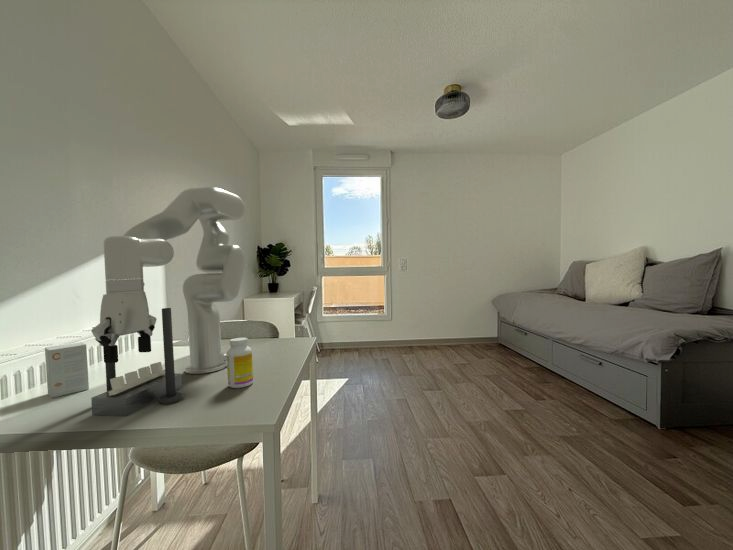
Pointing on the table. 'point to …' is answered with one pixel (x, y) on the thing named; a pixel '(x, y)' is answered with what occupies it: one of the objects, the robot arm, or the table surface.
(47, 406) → the table surface
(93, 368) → the table surface
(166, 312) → the cable upright
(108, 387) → the cable upright
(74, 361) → the small box
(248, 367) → the supplement bottle
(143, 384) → the breaker panel
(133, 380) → the breaker paddles
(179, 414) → the table surface
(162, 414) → the table surface
